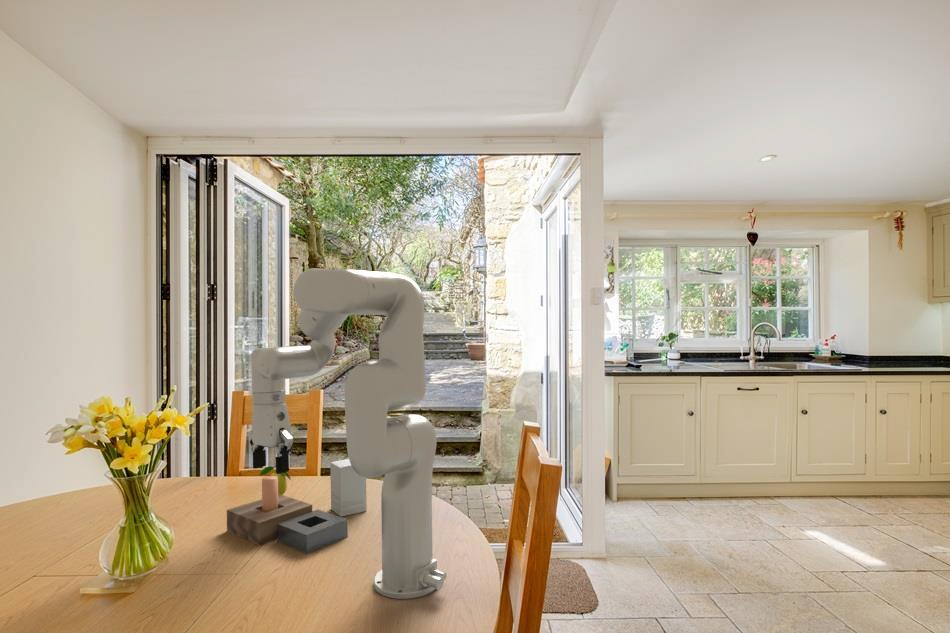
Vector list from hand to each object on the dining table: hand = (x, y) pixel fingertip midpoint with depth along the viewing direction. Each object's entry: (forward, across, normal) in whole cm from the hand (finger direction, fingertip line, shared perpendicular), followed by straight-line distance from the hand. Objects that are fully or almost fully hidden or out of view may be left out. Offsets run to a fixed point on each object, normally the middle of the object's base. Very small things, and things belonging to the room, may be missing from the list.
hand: (270, 469), depth 128 cm
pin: (+14, +1, 0) cm, 14 cm away
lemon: (+14, +19, -13) cm, 27 cm away
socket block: (+14, +1, 0) cm, 14 cm away
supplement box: (+14, -5, -19) cm, 24 cm away
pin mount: (+14, -13, -2) cm, 20 cm away
